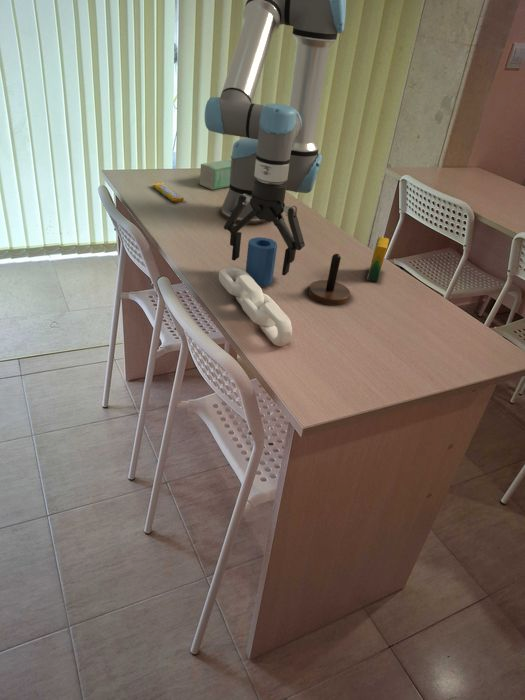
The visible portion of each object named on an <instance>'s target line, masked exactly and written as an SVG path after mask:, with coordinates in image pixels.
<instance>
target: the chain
mask: <svg viewBox="0 0 525 700" xmlns="http://www.w3.org/2000/svg"><path fill="white" fill-rule="evenodd" d="M218 281H219V282H220V284H221V285H222V286H223V288H224V289H225V290H226V291H227V292H228V293H229V294H230V295H232V296H234V297H235V300H236V301H237V303H238V304H239V305H240V306H241V308H242V310H243V312H244V313H245V314H246V315H247V316H248V317H249V318H250V320H251V321H252V322H253V323H254V324H256V325H259V327H260V329H261V331H262V332H263V333H264V335H265V336H266V337H267V338H268V339H269V341H270V342H272V344H273V345H274V346H277V347H283V346H286V345H288V344H289V343H290V341H291V339H292V336H293V326H292V322H291V319H290V317H289V316H288V315H287V314H286V313H285V312H284V311H283V309H282V308H281V307H280V306H279V305H278V304H277V303H276V302H275V300H273V298H272V297H270V295H268V294H266V293H264V292H263V289H262V288H261V286H259V285H258V284H257V283H256V282H255V281H254V280H253V279H252V277H251V276H250V275H249V274H248V273H247V272H246V269H244V268H241V267H238V266H228V267H224V268H222V269H221V270H220V272H219V273H218Z"/></svg>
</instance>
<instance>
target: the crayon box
mask: <svg viewBox="0 0 525 700" xmlns="http://www.w3.org/2000/svg"><path fill="white" fill-rule="evenodd" d="M380 234H381V229H380V230H379V233H378V236H377V239H376V243H375V247H374V251H373V255H372V259H371V264H370V267H369V270H368V274H367V278H366V280H367V281H370V282H374V283H378V282H379V278H380V275H381V271H382V268H383V264H384V259H385V256H386V253H387V249H388V245H389V242H390V239H389V238H388V237H383V236H380Z"/></svg>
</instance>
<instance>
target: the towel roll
mask: <svg viewBox="0 0 525 700" xmlns="http://www.w3.org/2000/svg"><path fill="white" fill-rule="evenodd" d="M277 250H278V244H277V242H276V241H275V240H273V239H271V238H267V237H261V236H259V237H258V236H257V237H252V238H250V239H249V240H248V244H247V252H246V253H247V254H246V264H245V271H246V272H247V273H248V274H249V275H250V276H251V277H252V279H253V280H254V281H255V282H256V283H257V284H258V285H259V286H260V287H267V286H270V285H271V284H272V283H273V279H274V272H275V264H276V258H277V257H276V256H277Z"/></svg>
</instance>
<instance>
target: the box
mask: <svg viewBox="0 0 525 700" xmlns="http://www.w3.org/2000/svg"><path fill="white" fill-rule="evenodd" d="M230 171H231V160H230V159H223V160H218V161H211V162H205V163H200V171H199V173H200V174H199V185H200V186H202V187H204V188H207V189H209V190H212V191H214V190H218V189H223V188H228V187H229V186H230Z"/></svg>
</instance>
